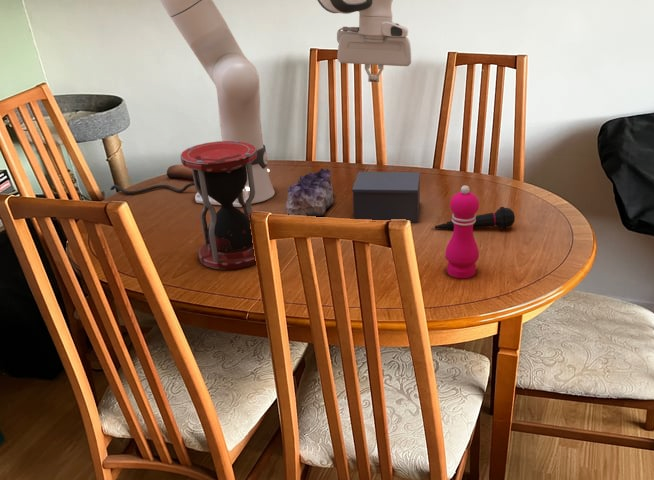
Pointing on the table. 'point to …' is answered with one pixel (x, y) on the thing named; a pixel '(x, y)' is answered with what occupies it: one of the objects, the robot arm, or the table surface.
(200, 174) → the hourglass
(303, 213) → the geode
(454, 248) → the pepper mill
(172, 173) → the sunglasses case
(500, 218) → the microphone
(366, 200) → the case
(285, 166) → the table surface
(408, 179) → the lid
